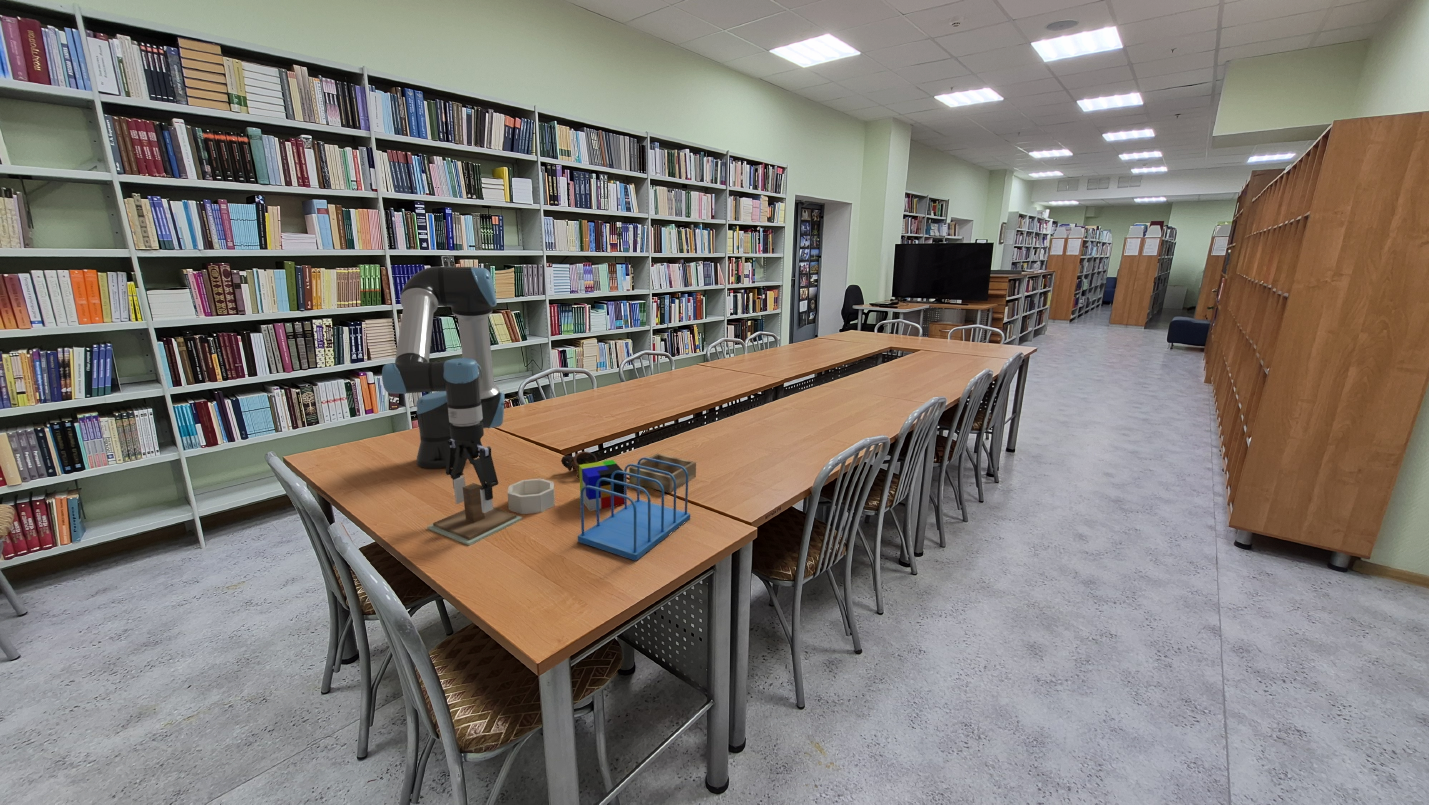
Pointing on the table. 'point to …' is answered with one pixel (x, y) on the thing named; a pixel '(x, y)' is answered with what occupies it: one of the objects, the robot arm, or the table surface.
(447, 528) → the lid
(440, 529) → the mat
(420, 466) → the robot arm
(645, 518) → the file sorter
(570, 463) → the animal figurine
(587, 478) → the puzzle toy
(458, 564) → the table surface
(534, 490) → the bowl
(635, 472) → the tray
